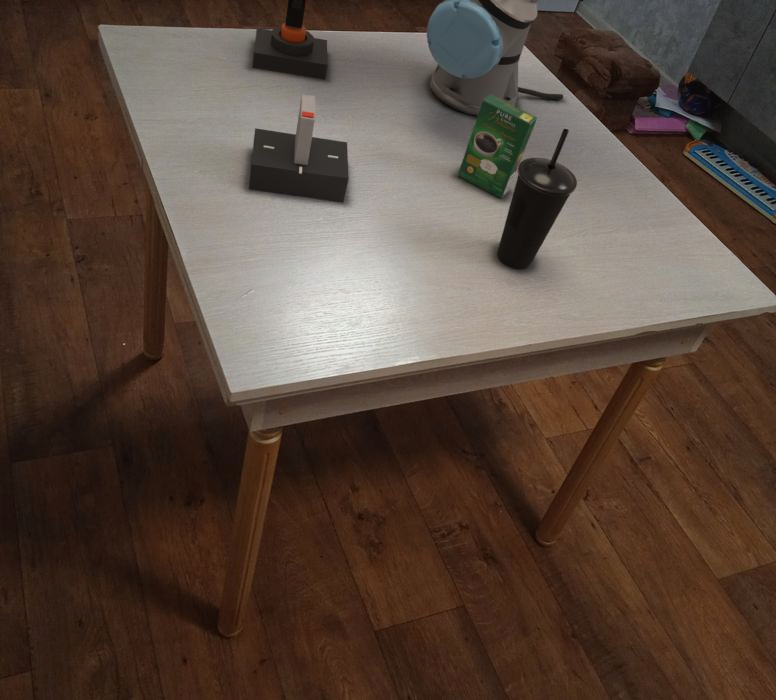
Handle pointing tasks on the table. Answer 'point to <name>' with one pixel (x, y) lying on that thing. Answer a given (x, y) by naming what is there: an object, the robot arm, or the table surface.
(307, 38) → the button block
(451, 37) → the robot arm
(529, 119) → the coffee box
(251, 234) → the table surface
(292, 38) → the button
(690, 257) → the table surface
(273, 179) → the panel
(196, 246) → the table surface
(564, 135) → the drinking cup
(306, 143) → the grey upright slab
